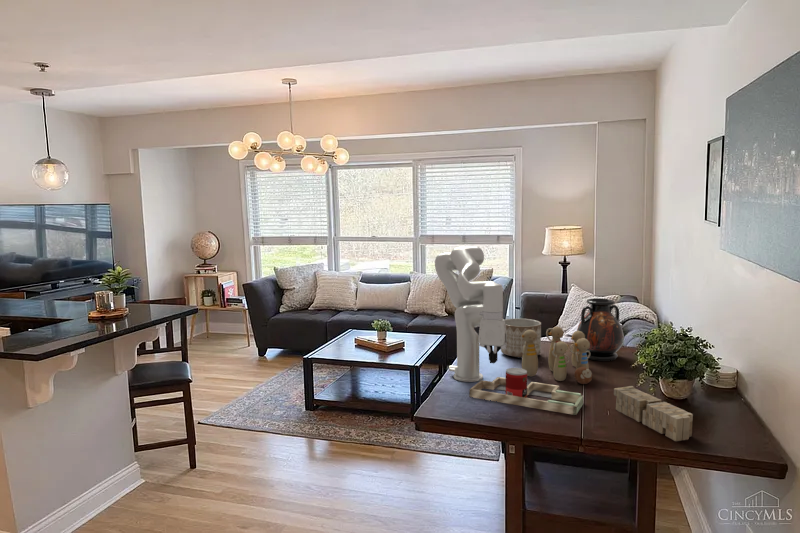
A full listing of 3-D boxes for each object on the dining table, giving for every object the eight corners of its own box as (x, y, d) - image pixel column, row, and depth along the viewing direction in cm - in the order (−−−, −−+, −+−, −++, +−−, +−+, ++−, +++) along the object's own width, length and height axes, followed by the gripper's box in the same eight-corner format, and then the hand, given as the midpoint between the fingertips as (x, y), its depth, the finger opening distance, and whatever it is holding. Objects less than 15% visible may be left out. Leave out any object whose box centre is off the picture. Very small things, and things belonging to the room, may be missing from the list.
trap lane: (469, 396, 206) (469, 387, 206) (487, 382, 224) (487, 373, 223) (576, 415, 187) (576, 405, 186) (587, 397, 204) (587, 388, 204)
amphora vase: (608, 350, 272) (609, 296, 269) (632, 362, 250) (634, 303, 247) (568, 352, 269) (569, 297, 266) (588, 364, 247) (590, 304, 245)
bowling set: (562, 393, 210) (563, 342, 208) (516, 375, 233) (516, 330, 231) (625, 377, 229) (626, 330, 227) (577, 362, 252) (577, 320, 249)
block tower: (695, 441, 167) (631, 406, 195) (697, 416, 166) (632, 384, 194) (674, 445, 165) (612, 408, 193) (676, 418, 164) (614, 386, 192)
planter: (545, 360, 256) (545, 326, 254) (504, 360, 256) (504, 326, 254) (535, 349, 275) (535, 318, 273) (497, 350, 275) (498, 318, 274)
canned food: (527, 402, 199) (527, 374, 198) (505, 401, 201) (505, 373, 200) (526, 395, 207) (526, 368, 206) (505, 394, 209) (505, 367, 207)
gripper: (471, 315, 206) (471, 362, 207) (508, 318, 198) (508, 367, 200) (478, 312, 212) (478, 358, 214) (514, 315, 205) (514, 362, 206)
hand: (493, 362), depth 207 cm, fingers closed
